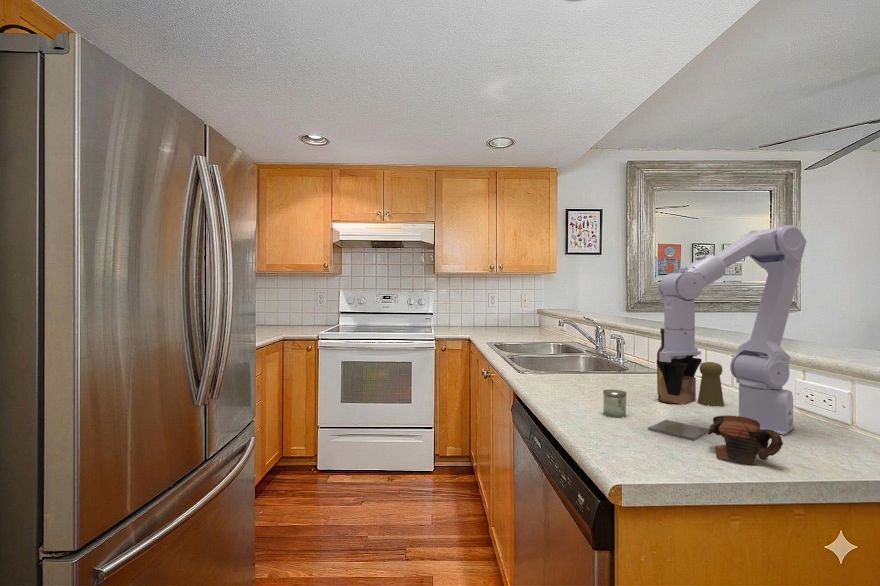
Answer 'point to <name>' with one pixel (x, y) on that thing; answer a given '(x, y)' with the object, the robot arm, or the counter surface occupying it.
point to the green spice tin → (614, 403)
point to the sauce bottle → (659, 373)
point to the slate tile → (679, 429)
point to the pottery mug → (744, 439)
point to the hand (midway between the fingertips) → (679, 392)
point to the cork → (710, 384)
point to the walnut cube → (686, 392)
